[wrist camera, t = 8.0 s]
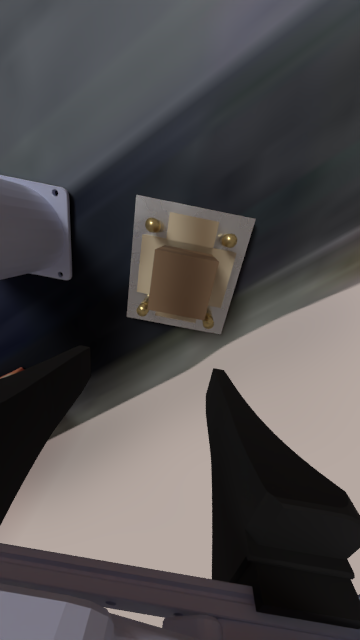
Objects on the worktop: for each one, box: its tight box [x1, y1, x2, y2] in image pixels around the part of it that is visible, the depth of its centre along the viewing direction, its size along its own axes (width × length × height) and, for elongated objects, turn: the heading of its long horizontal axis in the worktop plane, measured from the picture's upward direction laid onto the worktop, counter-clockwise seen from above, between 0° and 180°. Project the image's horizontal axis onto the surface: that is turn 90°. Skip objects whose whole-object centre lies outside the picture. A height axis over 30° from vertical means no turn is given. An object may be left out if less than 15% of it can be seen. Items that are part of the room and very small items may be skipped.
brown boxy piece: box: [137, 212, 236, 323], centre depth 16 cm, size 8×9×6 cm
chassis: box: [127, 195, 255, 335], centre depth 18 cm, size 10×11×4 cm
